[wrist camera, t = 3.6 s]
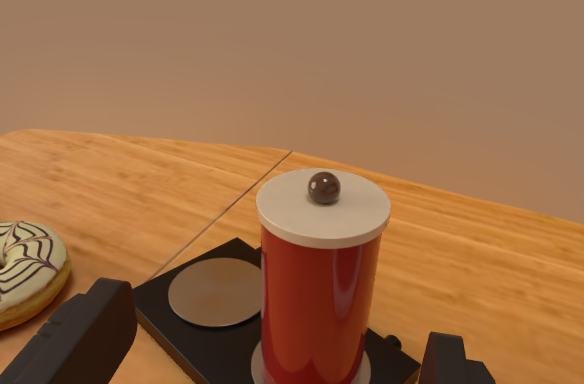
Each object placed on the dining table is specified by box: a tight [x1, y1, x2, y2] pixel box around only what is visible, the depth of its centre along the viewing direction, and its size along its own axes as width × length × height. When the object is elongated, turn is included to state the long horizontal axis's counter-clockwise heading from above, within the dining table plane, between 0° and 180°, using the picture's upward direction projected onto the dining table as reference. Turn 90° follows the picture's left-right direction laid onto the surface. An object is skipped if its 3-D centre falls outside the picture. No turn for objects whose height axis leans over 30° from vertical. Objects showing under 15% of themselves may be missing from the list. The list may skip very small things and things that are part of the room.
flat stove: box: [132, 237, 421, 384], centre depth 33 cm, size 11×18×2 cm, turn 44°
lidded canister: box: [256, 168, 391, 384], centre depth 29 cm, size 12×6×13 cm, turn 169°
